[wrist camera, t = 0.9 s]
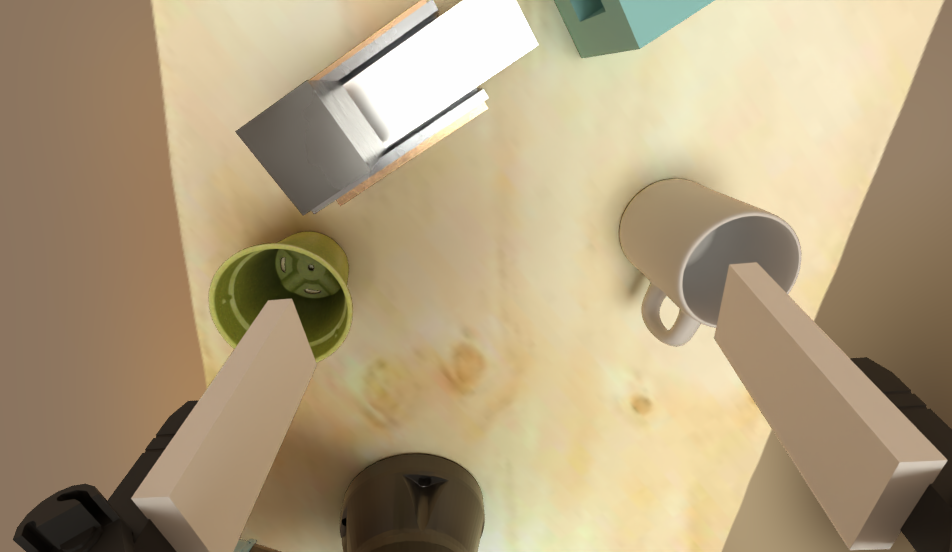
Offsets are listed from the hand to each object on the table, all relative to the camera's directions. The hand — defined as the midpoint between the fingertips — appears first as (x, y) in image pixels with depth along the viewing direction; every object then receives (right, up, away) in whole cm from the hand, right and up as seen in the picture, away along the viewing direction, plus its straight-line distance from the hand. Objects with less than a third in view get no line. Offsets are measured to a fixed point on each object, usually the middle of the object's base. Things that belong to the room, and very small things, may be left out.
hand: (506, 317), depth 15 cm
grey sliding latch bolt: (-6, +14, +17) cm, 23 cm away
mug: (+15, +4, +27) cm, 31 cm away
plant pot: (-15, +2, +26) cm, 30 cm away
